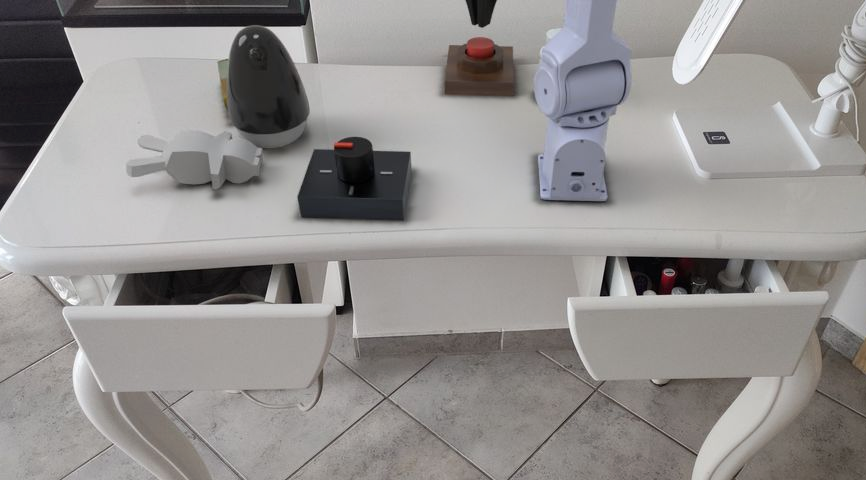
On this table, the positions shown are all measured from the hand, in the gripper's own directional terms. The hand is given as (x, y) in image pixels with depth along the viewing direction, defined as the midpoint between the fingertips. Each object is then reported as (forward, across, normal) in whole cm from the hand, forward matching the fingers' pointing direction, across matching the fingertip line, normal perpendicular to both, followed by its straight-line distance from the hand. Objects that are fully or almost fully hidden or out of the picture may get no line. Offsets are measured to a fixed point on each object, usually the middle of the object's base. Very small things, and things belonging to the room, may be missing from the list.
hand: (480, 24), depth 103 cm
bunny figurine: (+8, -12, -42) cm, 45 cm away
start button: (+5, 0, 0) cm, 5 cm away
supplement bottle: (+8, +12, +1) cm, 15 cm away
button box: (+8, 0, 0) cm, 8 cm away
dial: (+5, +6, -33) cm, 34 cm away
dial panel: (+8, +6, -33) cm, 35 cm away
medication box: (+8, -23, -28) cm, 37 cm away
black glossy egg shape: (+8, -11, -31) cm, 34 cm away
